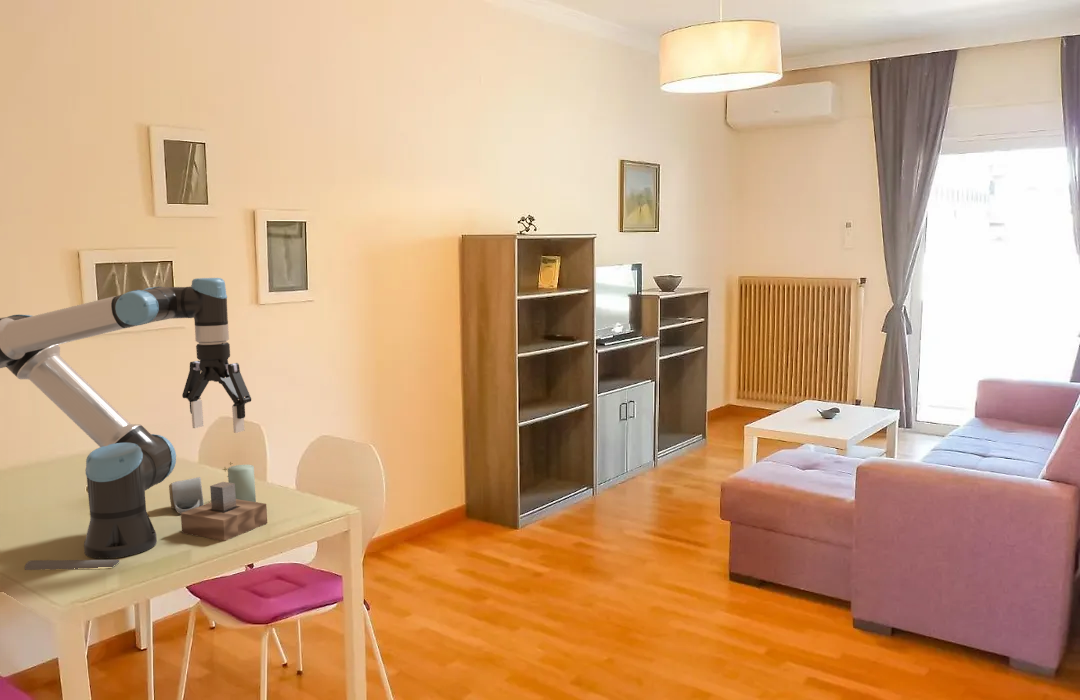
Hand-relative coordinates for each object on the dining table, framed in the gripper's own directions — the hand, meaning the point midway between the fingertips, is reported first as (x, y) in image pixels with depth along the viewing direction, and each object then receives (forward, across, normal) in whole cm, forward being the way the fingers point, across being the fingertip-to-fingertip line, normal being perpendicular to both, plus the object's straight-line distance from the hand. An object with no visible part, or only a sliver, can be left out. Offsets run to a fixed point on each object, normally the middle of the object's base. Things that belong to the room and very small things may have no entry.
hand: (218, 429), depth 211 cm
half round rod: (+26, +12, +32) cm, 43 cm away
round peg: (+25, +8, -14) cm, 30 cm away
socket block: (+25, 0, 0) cm, 25 cm away
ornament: (+25, +18, -22) cm, 38 cm away
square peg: (+25, 0, 0) cm, 25 cm away
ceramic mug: (+25, +21, -8) cm, 34 cm away
